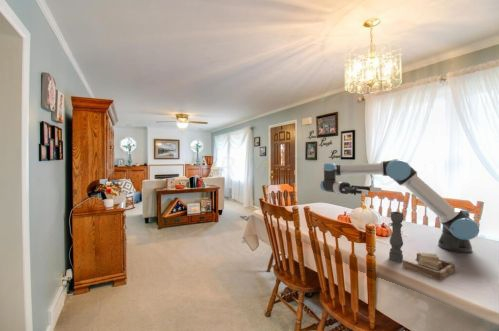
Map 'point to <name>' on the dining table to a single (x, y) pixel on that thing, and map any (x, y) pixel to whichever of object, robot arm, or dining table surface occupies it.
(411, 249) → the dining table surface
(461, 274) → the dining table surface
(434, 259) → the offcut upper
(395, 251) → the candle holder
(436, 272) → the walnut caddy
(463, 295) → the dining table surface
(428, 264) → the offcut lower
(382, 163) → the robot arm
